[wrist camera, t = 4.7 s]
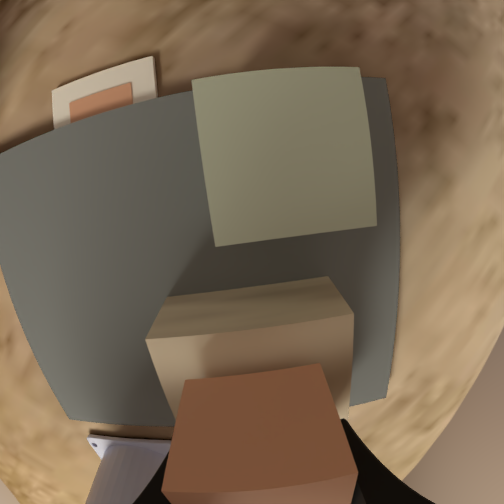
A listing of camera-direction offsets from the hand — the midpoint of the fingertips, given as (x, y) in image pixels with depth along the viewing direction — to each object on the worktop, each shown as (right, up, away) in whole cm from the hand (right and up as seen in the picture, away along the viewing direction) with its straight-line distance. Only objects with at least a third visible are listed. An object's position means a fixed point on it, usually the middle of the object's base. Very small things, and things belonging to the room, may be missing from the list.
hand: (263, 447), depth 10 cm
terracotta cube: (0, +1, +1) cm, 2 cm away
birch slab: (0, +2, +6) cm, 6 cm away
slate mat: (-4, +5, +6) cm, 9 cm away
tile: (-8, +14, +3) cm, 16 cm away
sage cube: (+1, +12, +3) cm, 12 cm away
